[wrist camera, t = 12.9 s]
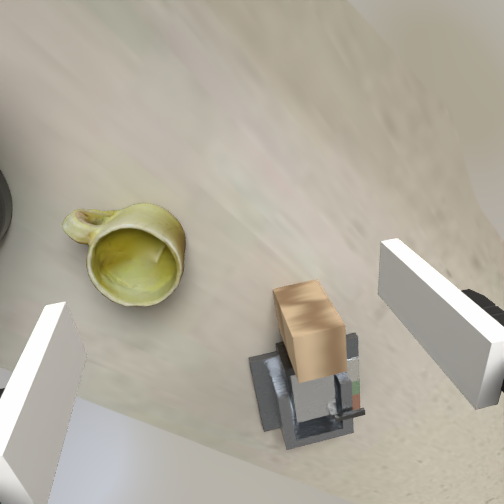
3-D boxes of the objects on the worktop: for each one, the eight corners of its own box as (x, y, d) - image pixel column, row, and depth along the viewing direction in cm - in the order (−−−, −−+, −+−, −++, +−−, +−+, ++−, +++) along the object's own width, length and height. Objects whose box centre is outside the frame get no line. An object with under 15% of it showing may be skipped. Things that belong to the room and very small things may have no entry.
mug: (220, 239, 45) (191, 289, 36) (162, 279, 49) (124, 331, 41) (145, 154, 41) (93, 187, 33) (90, 205, 46) (33, 245, 37)
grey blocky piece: (285, 408, 60) (294, 437, 56) (275, 343, 54) (284, 370, 49) (352, 391, 61) (366, 418, 56) (350, 325, 55) (366, 350, 50)
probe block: (279, 330, 55) (298, 383, 46) (273, 289, 51) (292, 338, 43) (320, 320, 55) (347, 371, 46) (316, 279, 52) (345, 325, 43)
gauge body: (262, 426, 63) (269, 454, 59) (248, 357, 56) (254, 383, 52) (357, 402, 64) (370, 428, 60) (355, 332, 57) (369, 356, 53)
